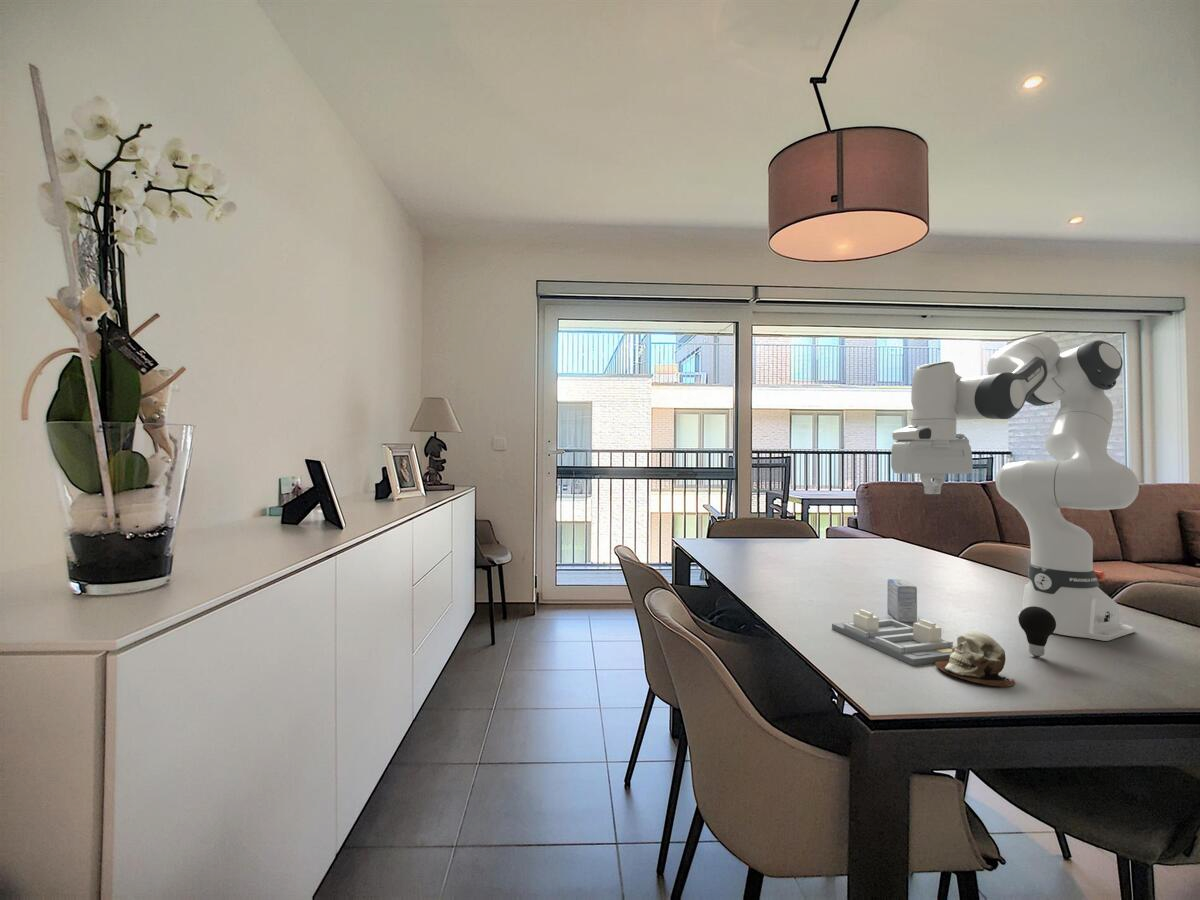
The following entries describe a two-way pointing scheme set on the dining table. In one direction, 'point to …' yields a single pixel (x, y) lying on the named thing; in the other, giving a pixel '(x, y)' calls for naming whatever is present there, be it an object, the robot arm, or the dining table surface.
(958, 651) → the skull
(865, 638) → the switch board
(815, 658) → the dining table surface
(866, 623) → the tab
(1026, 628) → the light bulb
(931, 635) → the tab
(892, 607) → the medicine box
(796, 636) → the dining table surface
